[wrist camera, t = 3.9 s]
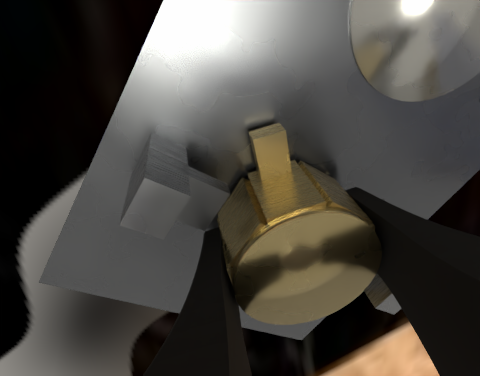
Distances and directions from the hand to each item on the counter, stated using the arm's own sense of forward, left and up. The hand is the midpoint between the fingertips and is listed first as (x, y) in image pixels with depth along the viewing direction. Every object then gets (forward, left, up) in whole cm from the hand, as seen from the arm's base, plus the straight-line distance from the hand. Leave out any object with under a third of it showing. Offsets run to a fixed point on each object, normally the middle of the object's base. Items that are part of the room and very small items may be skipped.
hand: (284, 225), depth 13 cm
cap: (0, 0, -1) cm, 1 cm away
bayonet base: (0, -3, -2) cm, 4 cm away
